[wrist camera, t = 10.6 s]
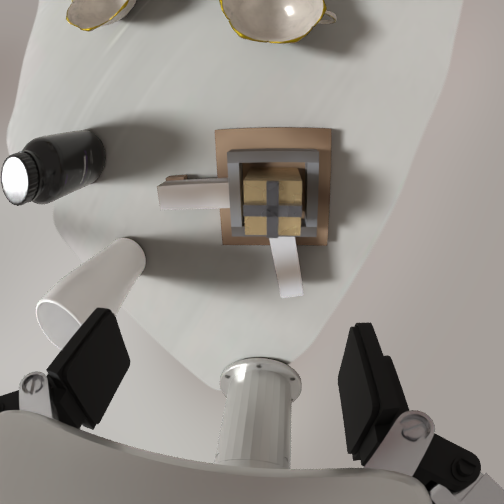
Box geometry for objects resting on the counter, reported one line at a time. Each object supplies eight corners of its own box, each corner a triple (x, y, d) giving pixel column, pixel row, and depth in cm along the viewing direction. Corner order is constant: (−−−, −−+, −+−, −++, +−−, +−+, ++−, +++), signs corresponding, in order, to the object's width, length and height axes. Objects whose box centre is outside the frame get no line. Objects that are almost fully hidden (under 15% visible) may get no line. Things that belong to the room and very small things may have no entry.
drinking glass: (135, 221, 32) (58, 290, 19) (162, 269, 35) (106, 354, 21) (98, 242, 34) (24, 307, 21) (124, 284, 36) (65, 362, 23)
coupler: (296, 211, 29) (300, 238, 23) (252, 210, 29) (244, 237, 23) (297, 167, 27) (302, 182, 21) (251, 167, 27) (242, 182, 21)
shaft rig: (322, 280, 33) (326, 298, 30) (183, 278, 35) (174, 295, 32) (329, 128, 26) (336, 129, 23) (165, 134, 28) (151, 137, 24)
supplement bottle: (115, 172, 30) (46, 204, 19) (75, 191, 31) (9, 227, 20) (97, 119, 27) (22, 130, 16) (59, 143, 29) (-12, 164, 18)
